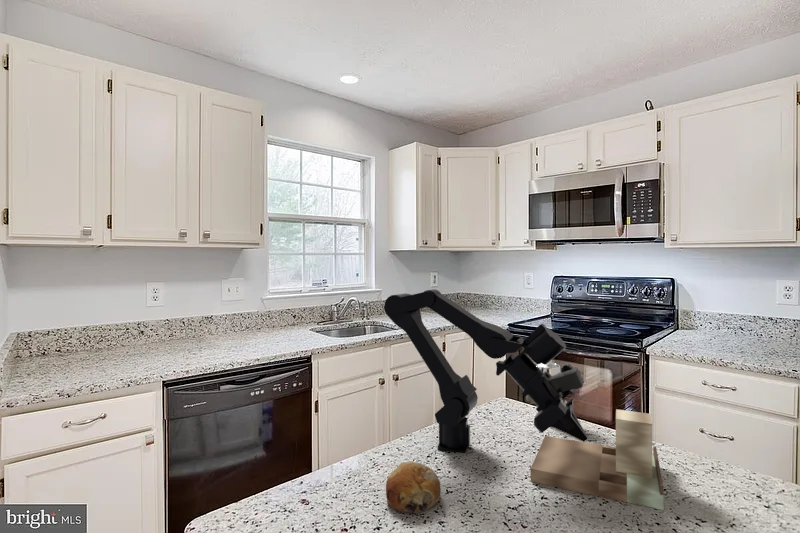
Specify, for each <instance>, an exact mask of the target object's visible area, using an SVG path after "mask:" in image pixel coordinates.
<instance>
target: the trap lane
mask: <svg viewBox="0 0 800 533" xmlns="http://www.w3.org/2000/svg"><path fill="white" fill-rule="evenodd" d="M660 466H661V465H660V461H659V454H658V449H657V446H653V445H652V478H648V477H643V476H638V475H632V474H627V473H622V472H617V471H616V446H609V445H603V444H597V443H592V442H591V443H590V442H586V441H581V440H575V439H567V438H562V437H557V436H550V435H545V436H544V438H543V440H542V443H541V444H540V447H539V449H538V451H537V453H536V454H535V458H534V461H533V462H532V464H531V467H530V482H531V483H536V484H539V485H544V486H545V485H546V486H549V487H554V488H559V489H564V490H569V491H573V492H577V493H578V492H579V493H582V494H586V495H591V496H596V497H599V498H600V497H601V498H605V499H610V500H615V501H619V502H624V503H628V504H633V505H638V506H643V507H647V508H651V509H657V510H661V511H664V510H665V509H664V497H665V496H664V493H665V492H664V482H663V477H662V472H661V467H660Z"/></svg>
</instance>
